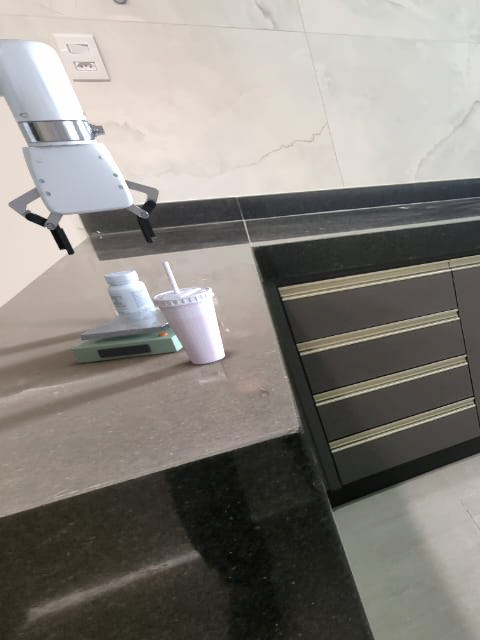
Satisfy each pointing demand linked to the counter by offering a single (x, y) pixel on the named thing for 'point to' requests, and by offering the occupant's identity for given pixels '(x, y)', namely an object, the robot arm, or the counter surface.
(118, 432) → the counter surface
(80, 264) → the counter surface
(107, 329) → the pan
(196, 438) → the counter surface
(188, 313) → the smoothie
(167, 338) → the scale
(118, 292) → the pill bottle
